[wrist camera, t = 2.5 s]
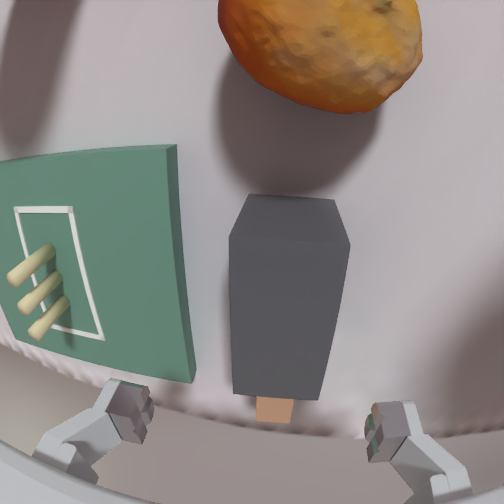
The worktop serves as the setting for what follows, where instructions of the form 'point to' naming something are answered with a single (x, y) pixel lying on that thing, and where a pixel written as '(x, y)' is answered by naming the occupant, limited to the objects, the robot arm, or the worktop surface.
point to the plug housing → (284, 298)
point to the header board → (98, 258)
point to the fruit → (326, 48)
